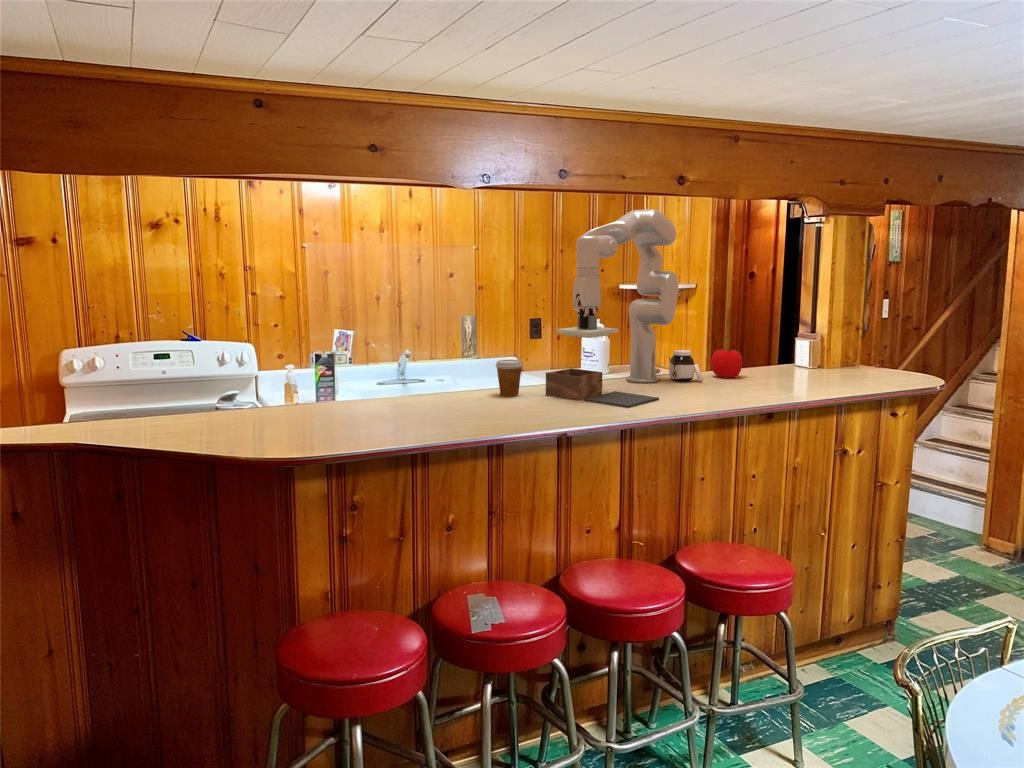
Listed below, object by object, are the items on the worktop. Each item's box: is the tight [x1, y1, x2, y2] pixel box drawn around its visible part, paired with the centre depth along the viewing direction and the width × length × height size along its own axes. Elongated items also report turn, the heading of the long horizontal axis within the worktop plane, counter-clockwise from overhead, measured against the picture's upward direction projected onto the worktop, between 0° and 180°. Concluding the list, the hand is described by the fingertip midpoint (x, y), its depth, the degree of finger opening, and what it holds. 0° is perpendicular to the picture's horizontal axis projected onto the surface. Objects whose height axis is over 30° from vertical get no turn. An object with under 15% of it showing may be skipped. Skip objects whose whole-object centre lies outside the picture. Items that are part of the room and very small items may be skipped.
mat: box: [583, 390, 660, 409], centre depth 247 cm, size 18×18×1 cm
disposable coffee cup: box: [495, 359, 523, 398], centre depth 257 cm, size 10×10×12 cm
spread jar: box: [668, 349, 703, 383], centre depth 284 cm, size 12×11×12 cm
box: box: [545, 367, 603, 401], centre depth 257 cm, size 14×14×8 cm
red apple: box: [710, 348, 743, 379], centre depth 292 cm, size 12×13×12 cm
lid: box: [555, 314, 619, 339], centre depth 251 cm, size 15×15×7 cm
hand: (587, 327), depth 251 cm, fingers closed on lid, 3 cm apart
